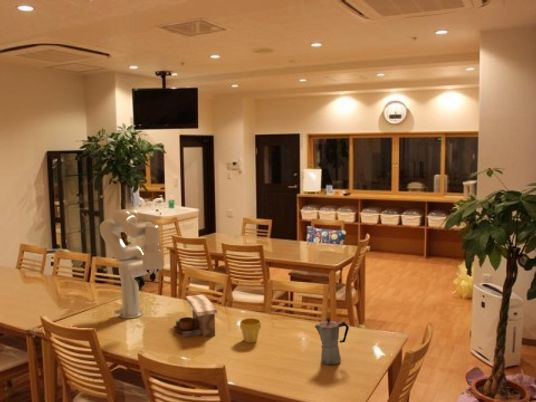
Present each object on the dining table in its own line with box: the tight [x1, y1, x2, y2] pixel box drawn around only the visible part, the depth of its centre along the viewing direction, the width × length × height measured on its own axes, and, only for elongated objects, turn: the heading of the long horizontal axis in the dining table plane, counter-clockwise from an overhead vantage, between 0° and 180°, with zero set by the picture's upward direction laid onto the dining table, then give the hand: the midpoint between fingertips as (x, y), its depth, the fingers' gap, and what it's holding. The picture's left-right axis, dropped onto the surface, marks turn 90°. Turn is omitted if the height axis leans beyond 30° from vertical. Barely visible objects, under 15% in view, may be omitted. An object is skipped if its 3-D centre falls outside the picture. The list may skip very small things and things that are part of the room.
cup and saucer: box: [174, 316, 198, 334], centre depth 267 cm, size 12×12×6 cm
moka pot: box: [314, 318, 350, 366], centre depth 227 cm, size 10×15×20 cm, turn 95°
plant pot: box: [239, 317, 262, 344], centre depth 253 cm, size 10×10×10 cm
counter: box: [175, 294, 218, 338], centre depth 269 cm, size 17×28×14 cm, turn 21°
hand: (152, 280), depth 272 cm, fingers closed
